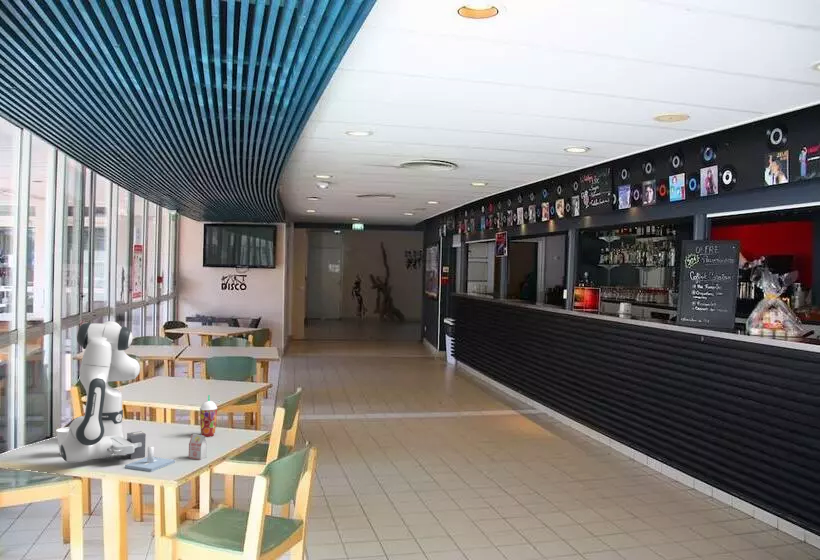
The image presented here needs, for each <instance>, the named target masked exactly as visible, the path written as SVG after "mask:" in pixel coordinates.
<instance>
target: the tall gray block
mask: <svg viewBox="0 0 820 560" xmlns="http://www.w3.org/2000/svg"><path fill="white" fill-rule="evenodd" d="M146 435H147V434H146V433H145V432H144V431H142V430H140V431H134V432H133V431H132V432H127V434H126V439H127V441H129V442H131V443H136V442H141V443H142V446H141V447H137V448H135V450H134V453H132V454H126V457H127V458H129V459H130V460H134V459H141V458H142V459H143V458H146V439H147V438H146Z"/></svg>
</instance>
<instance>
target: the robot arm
mask: <svg viewBox="0 0 820 560" xmlns="http://www.w3.org/2000/svg"><path fill="white" fill-rule="evenodd" d="M76 340H77V344H78V345H79V346H80V347H82V349H83V350H84V352H83V355H82V359H81V362H80V363H81V364H80V367H79V380H80V383H81V384H82V386H83V388H84V390H85V392H86V402H85V410H84V415H80V416H77V417H76V418H74V419H73V420H72V421H71V422H70V423H69V426H68V427H69V432H68V434H67V437H66V439H65V441H64V442H63V443H62V444H61V447H60V451H61V455H62V456H61V455H60V456H61V458H62V459H63V461H64V462H66V463H80V462H81V463H82V462H87V461H89V460H100V459H107V458H111V455H115V456H120V455H121V456H124V455H127V454H132V453H134V450H135V448H137V447H141V446H142V443H141V442H136V443H131V442H129V441H127V438H126V437H125V433H124V428H123V427H124V425H123V418H124V410H123V393H122V391H120V390H119V389H116V388H114V387H111V386H110V385H109V382H126V381H131V380H135V379H136V378H137V377H138V376H139V374H140V371H141V366H140V363H139V361H138V360H137V359H136V358H133V357H130V356H129V355H128V354H127V353H126V352H125V351H126V350H127V349H129V348H130V346H131V344H132V342H133V331H132V330H131V329H130V328H129V327H126V326H121V325H120V324H119V323H118V322H116V321H112V320H111V321H110V320H108V321H104V322H103V323H98V322H97V323H95V322H94V323H93V322H84V323H82V324H80V325H79V328H78V330H77V331H76ZM60 451H59V452H60Z"/></svg>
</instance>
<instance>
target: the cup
mask: <svg viewBox="0 0 820 560" xmlns="http://www.w3.org/2000/svg"><path fill="white" fill-rule="evenodd" d="M69 427H70V426H65V427H60V428H56V429H55V432H56V436H57V445H58V450H59V456H61V457H62V455H61V451H60V447H61V444H62V443H63V442H64V441H65V439H66V437H67V434H68V432H69Z"/></svg>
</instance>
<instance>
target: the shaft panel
mask: <svg viewBox="0 0 820 560" xmlns="http://www.w3.org/2000/svg"><path fill="white" fill-rule="evenodd" d="M175 463H176V460H175V459H171V458H165V457H163V458H162V457H157V456H156V457H155V446H147V455H146V456H145V457H143V458H142V459H141V458H140V459H138V460H136V461H133V462H130V463H127V464H125V466H124V467H125V469H128V470H129V469H130V470H136V471H143V472H152V473H153V472H154V471H157V470H160V469H161V468H165V467H168V466H170V465H172V464H175Z"/></svg>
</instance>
